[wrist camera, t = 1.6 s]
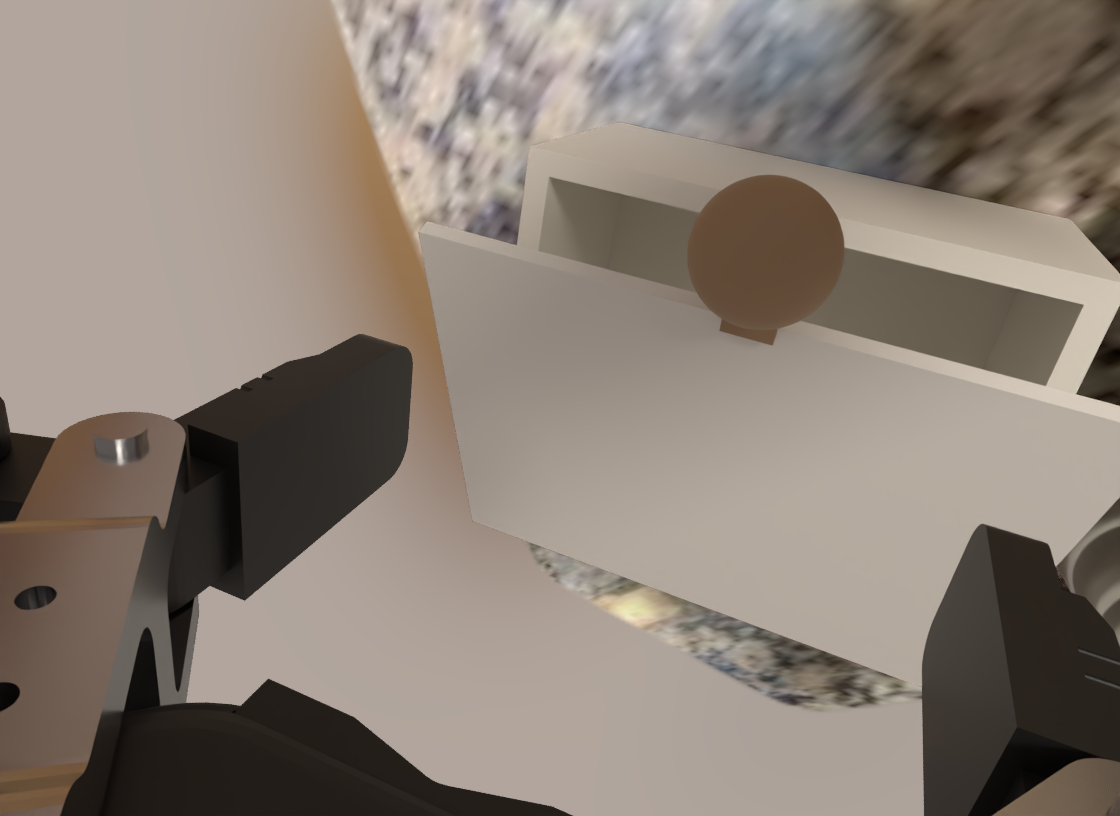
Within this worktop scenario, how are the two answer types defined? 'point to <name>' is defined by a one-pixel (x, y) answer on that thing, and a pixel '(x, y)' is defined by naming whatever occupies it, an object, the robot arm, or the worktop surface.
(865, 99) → the worktop surface
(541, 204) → the carton
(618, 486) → the carton lid
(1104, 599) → the plastic bottle
